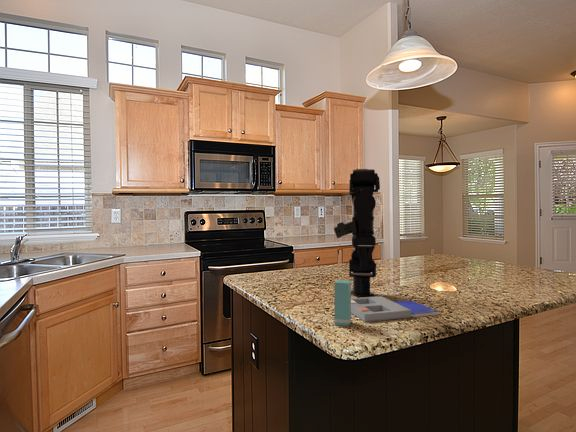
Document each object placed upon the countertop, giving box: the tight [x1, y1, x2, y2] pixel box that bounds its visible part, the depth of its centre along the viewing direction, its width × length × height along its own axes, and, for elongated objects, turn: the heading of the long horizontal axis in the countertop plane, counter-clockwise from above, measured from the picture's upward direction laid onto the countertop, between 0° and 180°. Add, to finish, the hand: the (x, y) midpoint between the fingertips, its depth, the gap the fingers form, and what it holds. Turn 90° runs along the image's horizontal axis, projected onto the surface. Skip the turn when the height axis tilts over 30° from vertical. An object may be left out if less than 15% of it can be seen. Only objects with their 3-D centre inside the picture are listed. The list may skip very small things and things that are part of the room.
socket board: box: [351, 295, 412, 323], centre depth 105 cm, size 16×14×2 cm
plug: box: [333, 279, 352, 327], centre depth 94 cm, size 4×4×11 cm
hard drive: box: [394, 299, 440, 318], centre depth 107 cm, size 2×8×12 cm
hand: (363, 266), depth 106 cm, fingers open, 9 cm apart
